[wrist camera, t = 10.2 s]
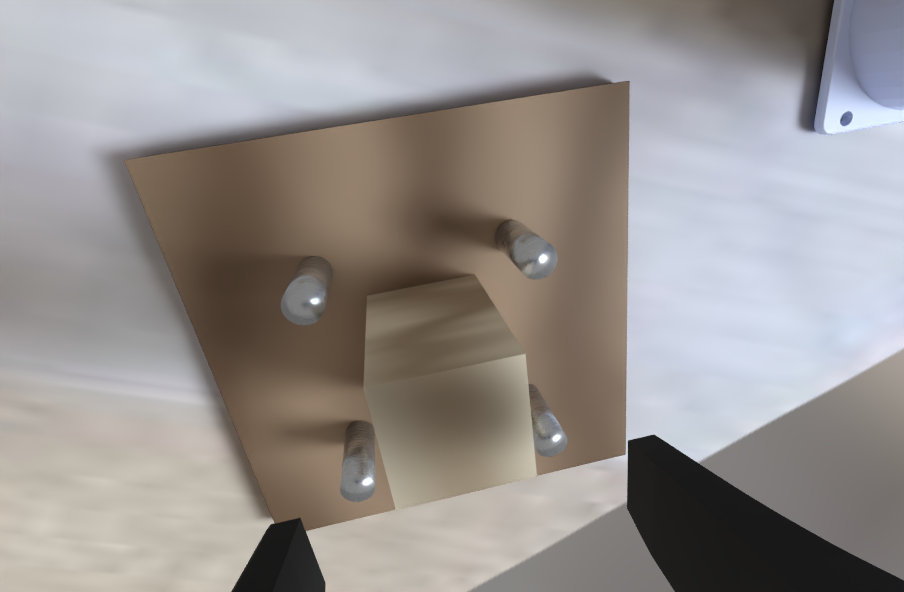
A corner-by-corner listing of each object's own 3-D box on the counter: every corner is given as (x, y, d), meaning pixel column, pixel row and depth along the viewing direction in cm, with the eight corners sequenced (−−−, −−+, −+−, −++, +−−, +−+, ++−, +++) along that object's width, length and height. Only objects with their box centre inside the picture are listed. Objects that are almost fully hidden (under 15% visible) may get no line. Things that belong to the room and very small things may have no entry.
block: (475, 274, 17) (525, 353, 11) (487, 366, 18) (536, 476, 13) (366, 295, 16) (363, 388, 11) (389, 388, 18) (396, 510, 12)
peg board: (614, 82, 16) (687, 73, 12) (614, 440, 22) (663, 505, 18) (140, 157, 14) (59, 171, 11) (284, 518, 21) (265, 605, 17)
